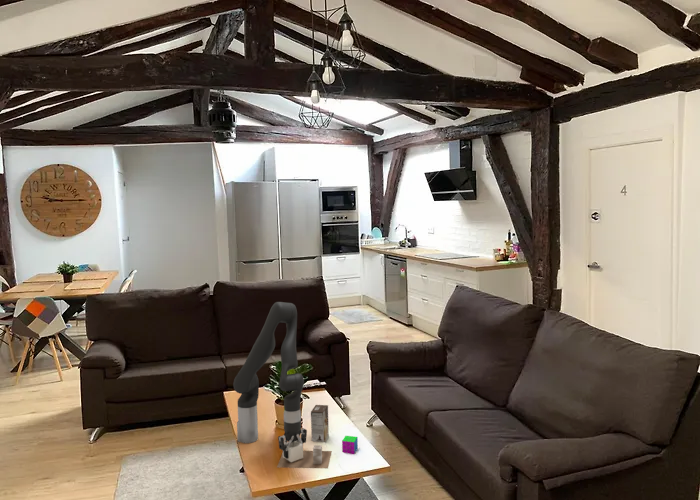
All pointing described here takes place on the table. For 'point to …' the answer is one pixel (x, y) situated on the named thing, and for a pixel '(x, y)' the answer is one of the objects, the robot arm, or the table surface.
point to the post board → (308, 459)
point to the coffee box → (319, 423)
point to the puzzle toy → (349, 444)
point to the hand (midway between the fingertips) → (293, 455)
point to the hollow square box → (295, 451)
